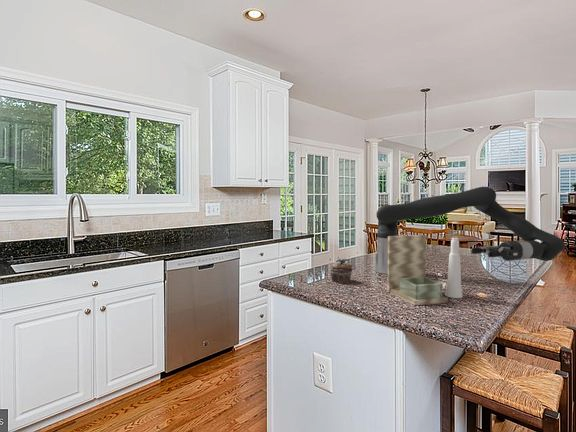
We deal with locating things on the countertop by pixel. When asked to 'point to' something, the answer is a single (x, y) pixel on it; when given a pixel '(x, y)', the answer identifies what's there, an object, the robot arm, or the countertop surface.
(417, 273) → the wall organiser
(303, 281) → the countertop surface
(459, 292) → the cosmetic bottle
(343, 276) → the cupcake
